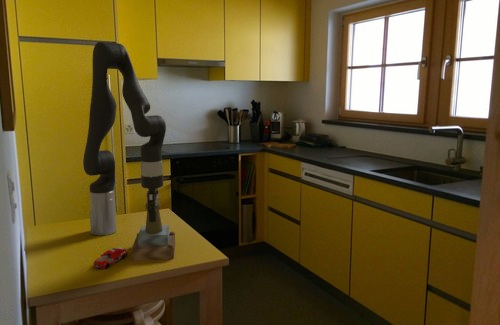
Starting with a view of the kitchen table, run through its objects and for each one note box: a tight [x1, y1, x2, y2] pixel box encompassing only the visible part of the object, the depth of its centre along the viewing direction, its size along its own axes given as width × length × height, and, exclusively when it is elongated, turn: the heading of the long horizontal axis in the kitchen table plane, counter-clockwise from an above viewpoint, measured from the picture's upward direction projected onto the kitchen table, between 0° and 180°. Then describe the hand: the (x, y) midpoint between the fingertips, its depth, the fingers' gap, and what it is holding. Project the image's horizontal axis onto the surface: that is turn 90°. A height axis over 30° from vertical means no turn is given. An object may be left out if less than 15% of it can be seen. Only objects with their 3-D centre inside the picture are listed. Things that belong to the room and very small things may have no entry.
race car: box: [93, 247, 128, 270], centre depth 140 cm, size 13×5×4 cm, turn 156°
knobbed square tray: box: [131, 224, 176, 261], centre depth 149 cm, size 14×14×8 cm
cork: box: [144, 200, 163, 234], centre depth 147 cm, size 6×6×11 cm
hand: (153, 217), depth 147 cm, fingers open, 8 cm apart
